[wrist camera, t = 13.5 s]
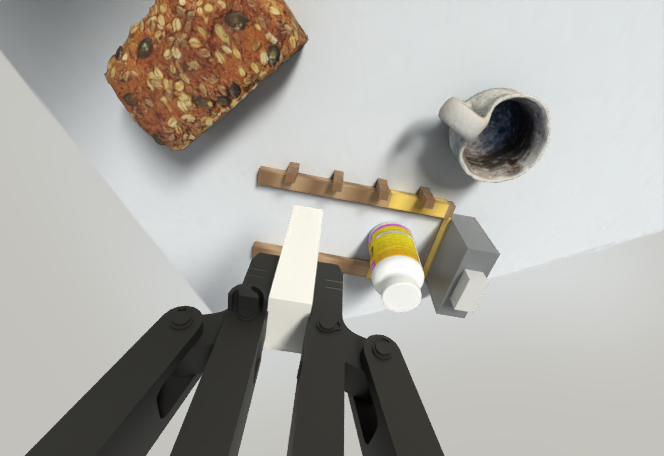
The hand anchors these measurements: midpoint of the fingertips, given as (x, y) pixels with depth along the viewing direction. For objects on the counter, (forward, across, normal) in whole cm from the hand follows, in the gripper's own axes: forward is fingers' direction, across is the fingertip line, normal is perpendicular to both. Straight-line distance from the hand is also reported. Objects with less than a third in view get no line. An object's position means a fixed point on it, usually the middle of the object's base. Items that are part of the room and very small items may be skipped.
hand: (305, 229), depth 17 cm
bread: (+28, -13, +4) cm, 31 cm away
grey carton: (+27, +21, -16) cm, 38 cm away
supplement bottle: (+27, +12, -17) cm, 34 cm away
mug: (+27, +17, +2) cm, 32 cm away
